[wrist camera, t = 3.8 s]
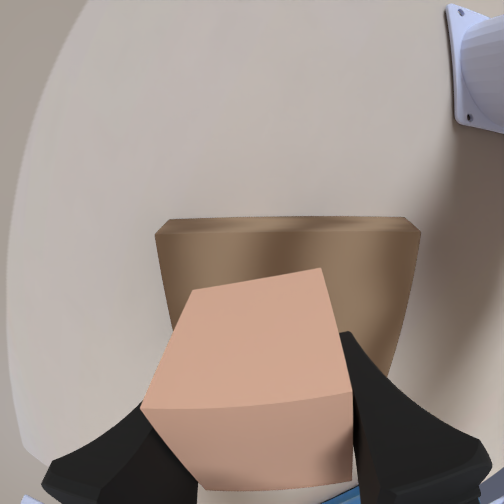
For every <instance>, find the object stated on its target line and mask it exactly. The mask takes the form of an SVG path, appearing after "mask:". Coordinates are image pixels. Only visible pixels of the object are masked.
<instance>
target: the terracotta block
mask: <svg viewBox="0 0 504 504" xmlns="http://www.w3.org/2000/svg"><path fill="white" fill-rule="evenodd" d="M140 409H141V411H142V412H143V414H144V415H145V416H146V418H147V419H148V421H149V422H150V423H151V425H152V426H153V427H154V429H155V430H156V431H157V433H158V434H159V435H160V437H161V438H162V439H163V440H164V442H165V443H166V444H167V446H168V447H169V448H170V449H171V451H172V452H173V453H174V454H175V455H176V457H177V458H178V459H179V460H180V462H181V463H182V464H183V465H184V466H185V467H186V469H187V470H188V471H189V472H190V473H191V474H192V475H193V477H194V478H195V479H196V480H197V481H198V482H199V483H200V484H201V485H202V487H203V488H204V489H205V490H212V491H266V490H283V489H295V488H305V487H314V486H322V485H329V484H336V483H342V482H347V481H352V462H353V395H352V387H351V383H350V378H349V374H348V370H347V365H346V361H345V357H344V353H343V349H342V344H341V340H340V336H339V332H338V328H337V325H336V321H335V317H334V313H333V309H332V305H331V302H330V298H329V294H328V291H327V287H326V283H325V280H324V276H323V273H322V269H321V268H316V269H311V270H305V271H300V272H294V273H289V274H283V275H278V276H272V277H267V278H261V279H255V280H249V281H244V282H238V283H232V284H226V285H220V286H214V287H208V288H202V289H195V290H192V292H191V294H190V296H189V299H188V301H187V303H186V305H185V307H184V309H183V312H182V314H181V316H180V318H179V320H178V322H177V325H176V327H175V329H174V331H173V333H172V336H171V338H170V340H169V342H168V344H167V347H166V349H165V351H164V353H163V356H162V358H161V360H160V362H159V365H158V367H157V369H156V372H155V374H154V376H153V378H152V381H151V383H150V385H149V388H148V390H147V392H146V395H145V397H144V399H143V402H142V404H141V406H140Z"/></svg>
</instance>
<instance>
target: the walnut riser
mask: <svg viewBox="0 0 504 504" xmlns="http://www.w3.org/2000/svg"><path fill="white" fill-rule="evenodd" d="M420 236H421V231H420V230H419V229H417V228H416V227H415V226H414V225H413V224H412V223H411V222H409V221H408V220H407V219H406V218H405V217H356V216H292V217H231V218H197V219H170V220H168V221H167V222H166V223H165V224H164V225H163V226H162V227H161V228H160V229H159V230H158V231H157V232H156V234H155V240H156V246H157V252H158V258H159V263H160V269H161V275H162V280H163V285H164V290H165V295H166V300H167V305H168V310H169V315H170V319H171V324H172V328H173V331H174V329H175V327H176V325H177V322H178V320H179V318H180V316H181V314H182V312H183V309H184V307H185V305H186V303H187V301H188V299H189V296H190V294H191V292H192V290H195V289H202V288H208V287H214V286H220V285H226V284H232V283H238V282H244V281H249V280H255V279H261V278H267V277H272V276H278V275H283V274H289V273H294V272H300V271H305V270H311V269H316V268H321V269H322V273H323V276H324V280H325V283H326V287H327V291H328V294H329V298H330V302H331V305H332V309H333V313H334V317H335V321H336V325H337V328H338V332H339V333H341V332H346V331H350V332H351V333H352V334H353V336H354V337H355V339H356V340H357V342H358V343H359V345H360V346H361V348H362V349H363V350H364V352H365V353H366V354H367V355H368V357H369V358H370V359H371V360H372V361H373V363H374V364H375V365H376V366H377V367H378V368H379V370H380V371H381V372H382V373H383V374H384V375H385V376H386V377H387V375H388V372H389V369H390V366H391V363H392V360H393V356H394V353H395V350H396V346H397V343H398V339H399V336H400V332H401V328H402V324H403V320H404V316H405V312H406V308H407V304H408V300H409V295H410V291H411V286H412V281H413V276H414V271H415V266H416V260H417V255H418V249H419V242H420Z"/></svg>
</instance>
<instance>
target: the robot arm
mask: <svg viewBox="0 0 504 504" xmlns="http://www.w3.org/2000/svg"><path fill="white" fill-rule="evenodd" d="M458 11H459V12H460V13H461V15H460V14H459V13H458ZM446 15H447V21H448V28H449V36H450V44H451V53H452V64H453V79H454V108H455V119H456V121H457V122H458V123H459V124H461V125H466V126H471V127H476V128H481V129H485V130H489V131H494V132H498V133H502V134H504V14H503V15H500V16H497V17H494V18H489V17H486V16H484V15H482V14H479V13H477V12H474V11H472V10H469V9H466V8H463V7H461V6H458V5H455V4H448V5H447V6H446ZM468 114H469V116H470V121H468V120H467V115H468ZM339 336H340V340H341V344H342V349H343V353H344V357H345V361H346V365H347V370H348V374H349V378H350V383H351V387H352V395H353V447H354V452H355V458H356V466H357V474H358V482H359V492H360V502H361V504H480V502H479V498H478V497H480V496H481V492H480V489H479V484H480V483H481V482H482V481H483V480H484V479H485V477H486V476H487V475H488V474H489V472H490V471H491V469H492V462H491V459H490V457H489V454H488V453H487V451H486V449H485V448H484V446H483V444H482V443H481V441H480V440H479V439H477V438H474V437H472V436H470V435H468V434H465V433H463V432H461V431H459V430H457V429H455V428H453V427H452V426H450V425H448V424H446V423H444V422H443V421H441V420H439V419H438V418H436V417H435V416H433V415H432V414H430V413H429V412H427V411H426V410H424V409H423V408H421V407H420V406H419V405H417V404H416V403H415V402H414V401H412V400H411V399H410V398H409V397H407V396H406V395H405V394H404V393H403V392H402V391H400V390H399V389H398V388H397V387H396V386H395V385H394V384H393V383H392V382H391V381H390V380H389V379H388V378H387V377H386V376H385V375H384V374H383V373H382V372H381V371H380V370H379V368H378V367H377V366H376V365H375V364H374V363H373V361H372V360H371V359H370V358H369V357H368V355H367V354H366V353H365V352H364V350H363V349H362V348H361V346H360V345H359V343H358V342H357V340H356V339H355V337H354V336H353V334H352V333H351V332H350V331H346V332H341V333H339ZM142 402H143V401H142ZM142 402H141V403H140V404H139V405H138V406H137V407H136V408H135V409H134V410H133V411H132V412H131V413H129V414H128V415H127V416H126V417H125V418H124V419H122V420H121V421H120V422H119V423H118V424H116V425H115V426H114V427H112V428H111V429H110V430H108V431H107V432H105V433H104V434H103V435H101V436H100V437H98V438H97V439H95V440H94V441H92V442H90V443H89V444H87V445H85V446H83V447H82V448H80V449H78V450H76V451H74V452H72V453H70V454H67V455H65V456H63V457H60V458H58V459H56V460H53V461H52V463H51V465H50V467H49V469H48V471H47V473H46V475H45V477H44V479H43V481H42V483H41V485H42V487H43V489H44V490H45V491H46V492H47V493H48V494H50V495H51V496H52V497H54V498H55V499H56V500H58V501H59V502H61V503H62V504H197V491H198V481H197V480H196V479H195V478H194V477H193V475H192V474H191V473H190V472H189V471H188V470H187V469H186V467H185V466H184V465H183V464H182V463H181V462H180V460H179V459H178V458H177V457H176V455H175V454H174V453H173V452H172V451H171V449H170V448H169V447H168V446H167V444H166V443H165V442H164V440H163V439H162V438H161V437H160V435H159V434H158V433H157V431H156V430H155V429H154V427H153V426H152V425H151V423H150V422H149V421H148V419H147V418H146V416H145V415H144V414H143V412H142V411H141V409H140V406H141V404H142ZM20 504H44V503H42V502H40V501H38V500H36V499H34V498H32V497H30V496H28V495H24V497H23V499H22V501H21V503H20ZM489 504H504V496H502V497H501V498H499V499H497V500H495V501H493V502H491V503H489Z"/></svg>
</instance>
